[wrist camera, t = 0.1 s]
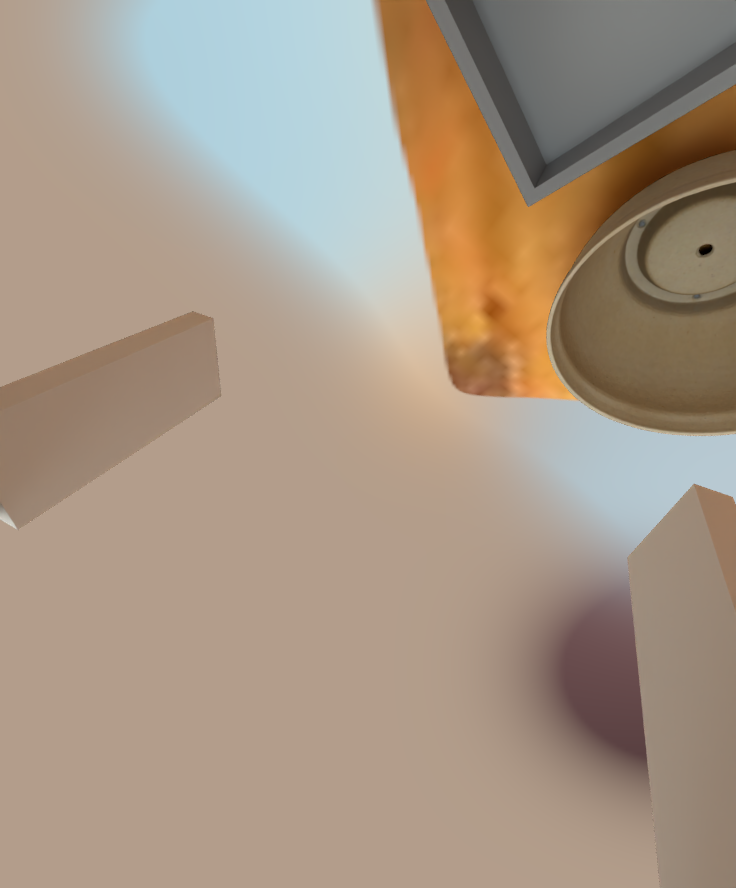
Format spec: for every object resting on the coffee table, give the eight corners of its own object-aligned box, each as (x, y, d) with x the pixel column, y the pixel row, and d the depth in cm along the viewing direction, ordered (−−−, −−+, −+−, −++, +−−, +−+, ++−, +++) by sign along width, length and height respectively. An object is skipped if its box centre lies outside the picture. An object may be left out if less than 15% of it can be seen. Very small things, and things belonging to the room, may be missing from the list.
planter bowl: (588, 349, 37) (567, 436, 32) (558, 160, 28) (520, 238, 22) (855, 321, 27) (891, 441, 22) (952, 10, 18) (1061, 84, 12)
